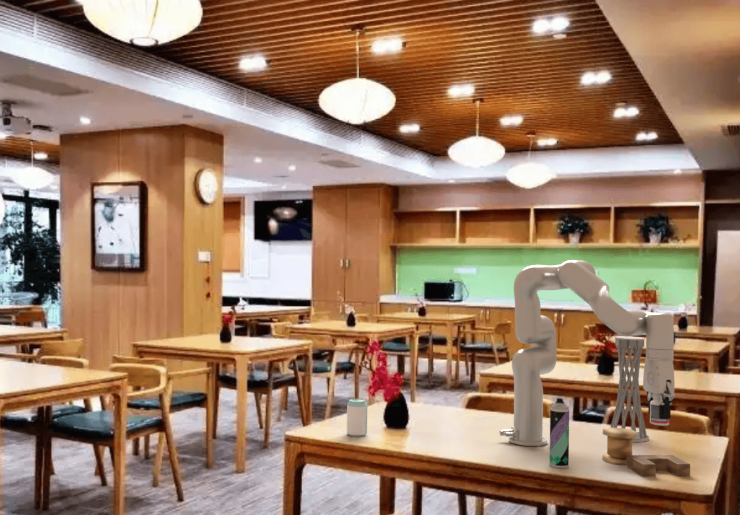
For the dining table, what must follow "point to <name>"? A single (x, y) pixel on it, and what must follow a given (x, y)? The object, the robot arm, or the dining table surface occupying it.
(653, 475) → the notched board
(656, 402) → the pill bottle
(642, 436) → the grey lattice tower
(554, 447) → the spray can
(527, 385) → the robot arm
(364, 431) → the can
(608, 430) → the wooden spool
